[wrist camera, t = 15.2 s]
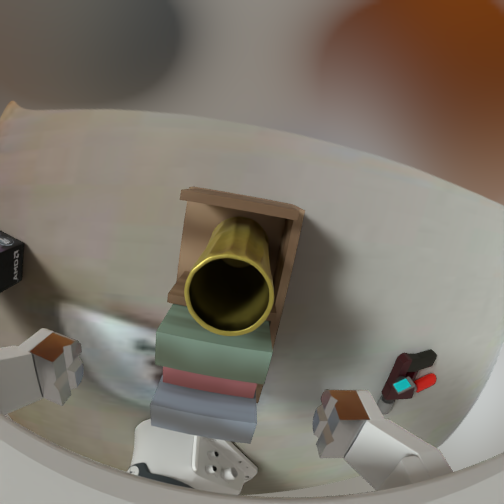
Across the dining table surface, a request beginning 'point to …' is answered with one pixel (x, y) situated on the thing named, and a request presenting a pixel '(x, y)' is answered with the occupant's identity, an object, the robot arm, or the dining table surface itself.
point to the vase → (232, 279)
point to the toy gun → (406, 378)
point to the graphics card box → (10, 261)
